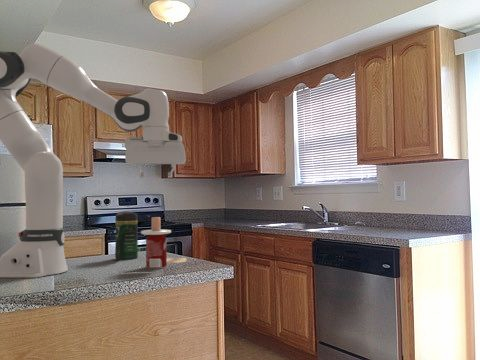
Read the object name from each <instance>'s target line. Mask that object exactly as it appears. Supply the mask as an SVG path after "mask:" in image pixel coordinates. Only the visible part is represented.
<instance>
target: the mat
mask: <svg viewBox="0 0 480 360" xmlns="http://www.w3.org/2000/svg"><path fill="white" fill-rule="evenodd" d="M171 263H173V264H174V263H175V264H179V263H187V257H174V258H171V257H167V264H171Z"/></svg>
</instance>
